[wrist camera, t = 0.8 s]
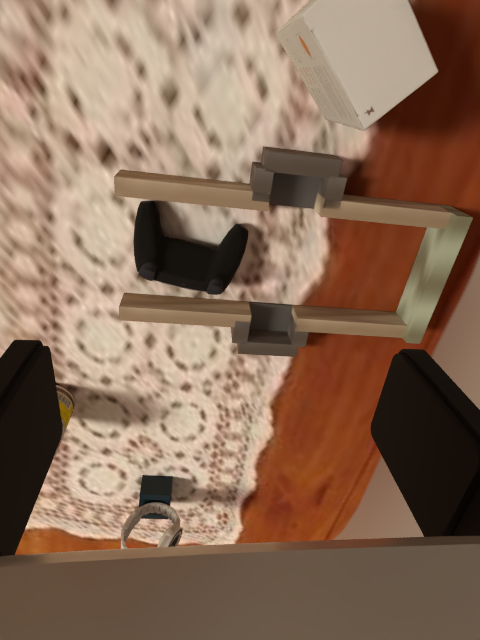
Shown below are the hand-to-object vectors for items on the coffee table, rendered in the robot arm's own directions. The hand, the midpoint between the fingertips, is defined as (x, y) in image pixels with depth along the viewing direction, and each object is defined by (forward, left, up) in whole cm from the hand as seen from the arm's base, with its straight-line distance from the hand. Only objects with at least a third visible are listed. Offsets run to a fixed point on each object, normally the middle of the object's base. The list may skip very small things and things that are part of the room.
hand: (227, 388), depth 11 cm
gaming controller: (+7, -2, -31) cm, 31 cm away
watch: (+46, -4, -31) cm, 55 cm away
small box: (-10, +9, -31) cm, 33 cm away
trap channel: (+8, +8, -30) cm, 32 cm away
